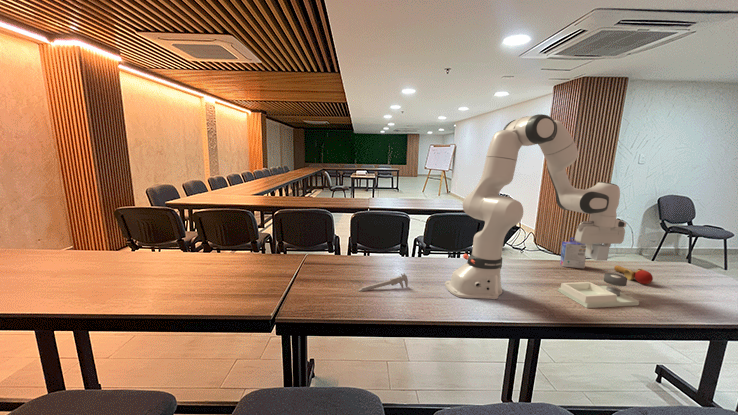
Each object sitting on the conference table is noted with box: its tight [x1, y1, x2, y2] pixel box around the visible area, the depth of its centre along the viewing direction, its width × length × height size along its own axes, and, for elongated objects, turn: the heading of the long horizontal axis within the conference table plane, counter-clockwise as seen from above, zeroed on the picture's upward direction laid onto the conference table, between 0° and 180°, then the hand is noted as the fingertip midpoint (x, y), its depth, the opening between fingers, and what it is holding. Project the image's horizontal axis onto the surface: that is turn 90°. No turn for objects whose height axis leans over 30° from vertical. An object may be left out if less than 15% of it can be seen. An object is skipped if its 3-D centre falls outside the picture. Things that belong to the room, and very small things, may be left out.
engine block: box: [585, 244, 610, 262], centre depth 130 cm, size 5×6×6 cm
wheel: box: [603, 272, 628, 287], centre depth 120 cm, size 7×7×3 cm
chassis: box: [557, 281, 640, 309], centre depth 120 cm, size 22×14×4 cm, turn 98°
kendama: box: [613, 265, 654, 285], centre depth 142 cm, size 8×6×18 cm
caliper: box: [358, 272, 409, 292], centre depth 123 cm, size 20×1×6 cm, turn 104°
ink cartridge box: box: [559, 237, 587, 269], centre depth 155 cm, size 10×6×14 cm, turn 78°
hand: (596, 253), depth 130 cm, fingers closed on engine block, 5 cm apart
